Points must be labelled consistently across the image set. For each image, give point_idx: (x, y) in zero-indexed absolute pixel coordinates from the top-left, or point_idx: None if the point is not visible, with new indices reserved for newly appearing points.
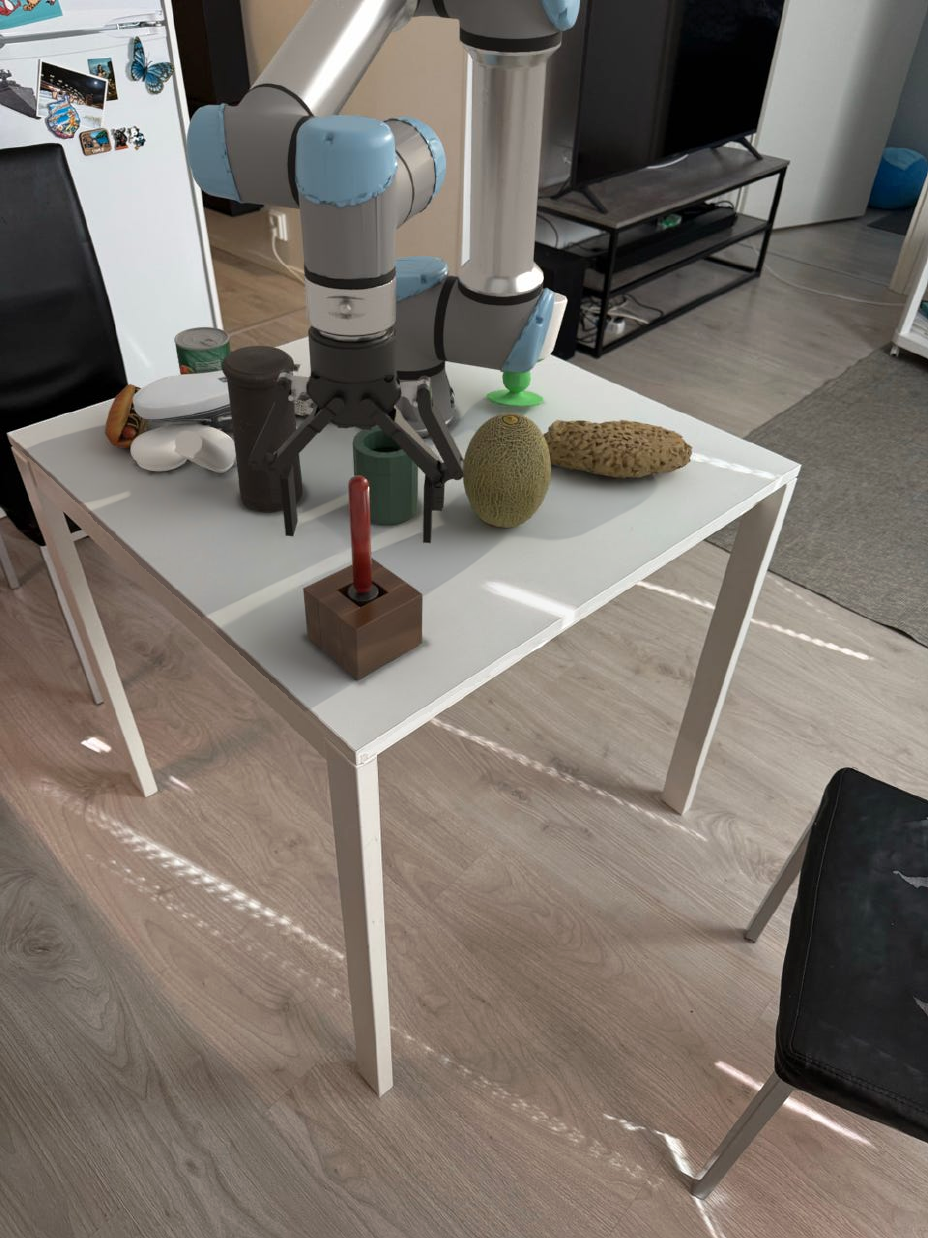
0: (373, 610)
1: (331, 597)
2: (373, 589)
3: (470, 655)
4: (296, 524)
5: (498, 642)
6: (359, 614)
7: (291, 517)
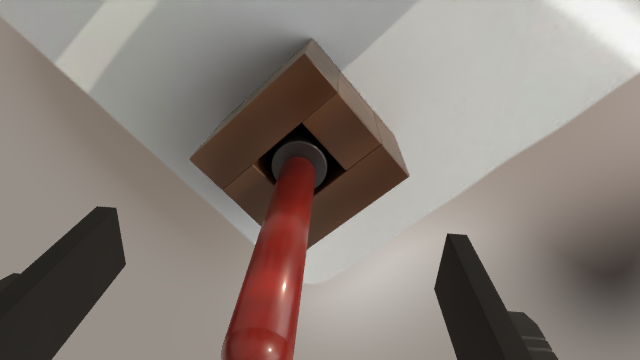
0: (320, 217)
1: (244, 184)
2: (318, 163)
3: (464, 161)
4: (117, 226)
5: (514, 134)
6: None
7: (96, 301)
